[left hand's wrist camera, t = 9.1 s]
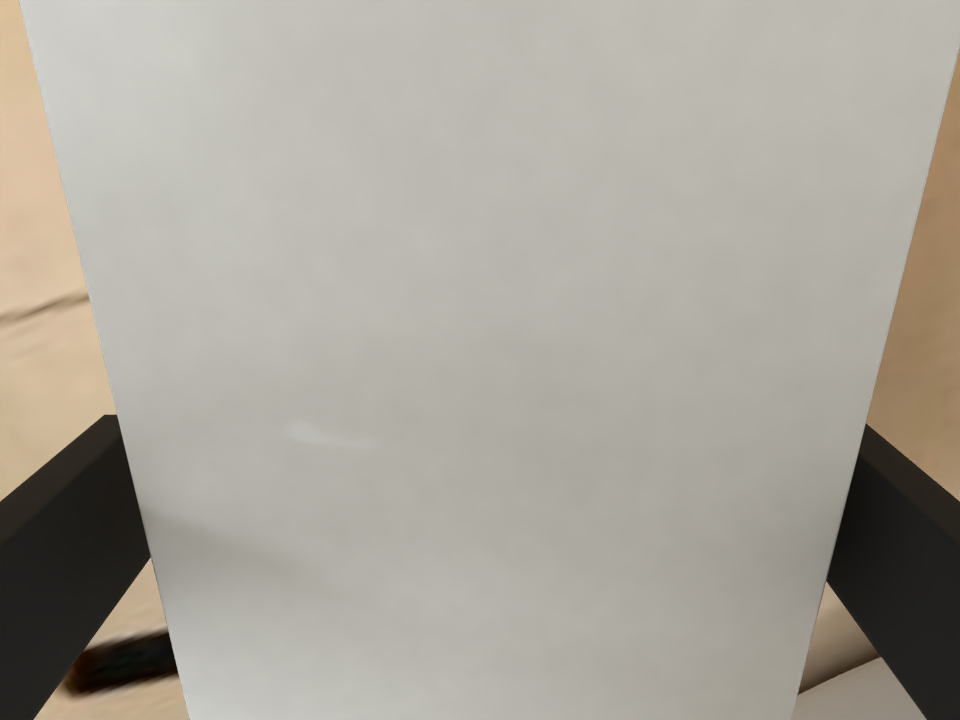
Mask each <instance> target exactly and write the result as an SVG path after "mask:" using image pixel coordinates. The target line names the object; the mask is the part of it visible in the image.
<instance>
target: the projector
mask: <svg viewBox="0 0 960 720" xmlns="http://www.w3.org/2000/svg"><path fill="white" fill-rule="evenodd" d="M791 720H927V719H926V718H925V717H924V715H923V714H922V713H921V711H920V710H919V708H918V707H917V706H916V704H915V703H914V701H913V700H912V699H911V697H910V696H909V695H908V693H907V692H906V690H905V689H904V688H903V686H902V685H901V683H900V682H899V681H898V679H897V678H896V677H895V675H894V674H893V672H892V671H891V670H890V668H889V667H888V665H887V664H886V663H885V661H884V660H883V659H882V657H879V658H877V659H875V660H872V661H870V662H868V663H865V664H863V665H861V666H858V667H856V668H854V669H852V670H849V671H847V672H845V673H843V674H840V675H838V676H836V677H834V678H832V679H830V680H828V681H825V682H823V683H821V684H819V685H817V686H815V687H813V688H811V689H809V690H807V691H805V692H803V693H801V694H799V695H797V699H796V703H795V707H794V711H793V715H792V719H791Z"/></svg>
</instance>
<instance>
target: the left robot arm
mask: <svg viewBox="0 0 960 720" xmlns="http://www.w3.org/2000/svg"><path fill="white" fill-rule="evenodd" d="M150 558H151V555H150V551H149V547H148V542H147V538H146V534H145V530H144V525H143V521H142V517H141V513H140V509H139V504H138V500H137V496H136V492H135V488H134V483H133V479H132V475H131V471H130V467H129V462H128V458H127V454H126V450H125V446H124V441H123V437H122V433H121V429H120V425H119V420H118V416H117V415H104V416H102V417H101V418H100V419H99V420H98V421H96V422H95V423H94V424H93V425H92V426H90V427H89V428H88V429H87V430H86V431H84V432H83V433H82V434H81V435H80V436H78V437H77V438H76V439H75V440H74V441H72V442H71V443H70V444H69V445H68V446H66V447H65V448H64V449H63V450H62V451H60V452H59V453H58V454H57V455H56V456H54V457H53V458H52V459H51V460H50V461H49V462H47V463H46V464H45V465H44V466H43V467H41V468H40V469H39V470H38V471H37V472H35V473H34V474H33V475H32V476H31V477H29V478H28V479H27V480H26V481H25V482H23V483H22V484H21V485H20V486H19V487H17V488H16V489H15V490H14V491H13V492H11V493H10V494H9V495H8V496H7V497H5V498H4V499H3V500H2V501H1V502H0V720H33V719H34V718H35V717H36V715H37V714H38V713H39V711H40V710H41V708H42V707H43V706H44V704H45V703H46V701H47V700H48V699H49V697H50V696H51V695H52V693H53V692H54V690H55V689H56V688H57V686H58V685H59V683H60V682H61V681H62V679H63V678H64V677H65V675H66V674H67V672H68V671H69V670H70V668H71V667H72V665H73V664H74V663H75V661H76V660H77V659H78V657H79V656H80V654H81V653H82V652H83V650H84V649H85V647H86V646H87V645H88V643H89V642H90V641H91V639H92V638H93V636H94V635H95V634H96V632H97V631H98V629H99V628H100V627H101V625H102V624H103V623H104V621H105V620H106V618H107V617H108V616H109V614H110V613H111V612H112V610H113V609H114V607H115V606H116V605H117V603H118V602H119V600H120V599H121V598H122V596H123V595H124V594H125V592H126V591H127V589H128V588H129V587H130V585H131V584H132V582H133V581H134V580H135V578H136V577H137V576H138V574H139V573H140V571H141V570H142V569H143V567H144V566H145V564H146V563H147V562H148V560H149V559H150ZM826 581H827V582H828V584H829V585H830V587H831V588H832V589H833V591H834V592H835V594H836V595H837V596H838V598H839V599H840V600H841V602H842V603H843V605H844V606H845V607H846V609H847V610H848V612H849V613H850V614H851V616H852V617H853V618H854V620H855V621H856V623H857V624H858V625H859V627H860V628H861V630H862V631H863V632H864V634H865V635H866V636H867V638H868V639H869V641H870V642H871V643H872V645H873V646H874V647H875V649H876V650H877V652H878V653H879V654H880V656H881V657H882V659H883V660H884V661H885V663H886V664H887V665H888V667H889V668H890V670H891V671H892V672H893V674H894V675H895V677H896V678H897V679H898V681H899V682H900V683H901V685H902V686H903V688H904V689H905V690H906V692H907V693H908V695H909V696H910V697H911V699H912V700H913V701H914V703H915V704H916V706H917V707H918V708H919V710H920V711H921V713H922V714H923V715H924V717H925V718H926V719H927V720H960V502H959V501H958V500H957V499H956V498H955V497H953V496H952V495H951V494H950V493H949V492H947V491H946V490H945V489H944V488H943V487H941V486H940V485H939V484H938V483H937V482H935V481H934V480H933V479H932V478H931V477H929V476H928V475H927V474H926V473H925V472H923V471H922V470H921V469H920V468H919V467H917V466H916V465H915V464H914V463H913V462H911V461H910V460H909V459H908V458H907V457H905V456H904V455H903V454H902V453H901V452H900V451H898V450H897V449H896V448H895V447H894V446H892V445H891V444H890V443H889V442H888V441H886V440H885V439H884V438H883V437H882V436H880V435H879V434H878V433H877V432H876V431H874V430H873V429H872V428H871V427H870V426H868V425H867V424H865V428H864V432H863V436H862V440H861V444H860V448H859V452H858V456H857V460H856V464H855V468H854V472H853V476H852V480H851V484H850V488H849V492H848V496H847V500H846V504H845V508H844V512H843V516H842V520H841V524H840V528H839V532H838V535H837V539H836V543H835V547H834V551H833V555H832V559H831V563H830V567H829V571H828V575H827V579H826Z"/></svg>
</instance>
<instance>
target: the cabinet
mask: <svg viewBox="0 0 960 720" xmlns="http://www.w3.org/2000/svg"><path fill="white" fill-rule="evenodd" d="M19 4H20V8H21V13H22V17H23V21H24V25H25V29H26V34H27V38H28V42H29V46H30V50H31V55H32V59H33V63H34V67H35V71H36V76H37V80H38V84H39V88H40V92H41V97H42V101H43V105H44V109H45V113H46V118H47V122H48V126H49V130H50V135H51V139H52V143H53V147H54V151H55V156H56V160H57V164H58V168H59V172H60V177H61V181H62V185H63V189H64V193H65V198H66V202H67V206H68V210H69V214H70V219H71V223H72V227H73V231H74V235H75V240H76V244H77V248H78V252H79V256H80V261H81V265H82V269H83V273H84V277H85V282H86V286H87V290H88V294H89V298H90V303H91V307H92V311H93V315H94V319H95V324H96V328H97V332H98V336H99V341H100V345H101V349H102V353H103V357H104V362H105V366H106V370H107V374H108V378H109V383H110V387H111V391H112V395H113V399H114V404H115V408H116V412H117V416H118V420H119V425H120V429H121V433H122V437H123V441H124V446H125V450H126V454H127V458H128V462H129V467H130V471H131V475H132V479H133V483H134V488H135V492H136V496H137V500H138V504H139V509H140V513H141V517H142V521H143V525H144V530H145V534H146V538H147V542H148V547H149V551H150V555H151V559H152V563H153V568H154V572H155V576H156V580H157V584H158V589H159V593H160V597H161V601H162V605H163V610H164V614H165V618H166V622H167V626H168V631H169V635H170V639H171V643H172V647H173V652H174V656H175V660H176V664H177V668H178V673H179V677H180V681H181V685H182V689H183V694H184V698H185V702H186V706H187V710H188V715H189V719H190V720H791V719H792V715H793V711H794V707H795V703H796V699H797V695H798V691H799V687H800V683H801V679H802V675H803V671H804V667H805V663H806V659H807V655H808V651H809V647H810V643H811V639H812V635H813V631H814V627H815V623H816V619H817V615H818V611H819V607H820V603H821V599H822V595H823V591H824V587H825V583H826V579H827V575H828V571H829V567H830V563H831V559H832V555H833V551H834V547H835V543H836V539H837V535H838V532H839V528H840V524H841V520H842V516H843V512H844V508H845V504H846V500H847V496H848V492H849V488H850V484H851V480H852V476H853V472H854V468H855V464H856V460H857V456H858V452H859V448H860V444H861V440H862V436H863V432H864V428H865V424H866V420H867V416H868V412H869V408H870V404H871V400H872V396H873V392H874V388H875V384H876V380H877V376H878V372H879V368H880V364H881V360H882V356H883V352H884V348H885V344H886V340H887V336H888V332H889V328H890V324H891V321H892V317H893V313H894V309H895V305H896V301H897V297H898V293H899V289H900V285H901V281H902V277H903V273H904V269H905V265H906V261H907V257H908V253H909V249H910V245H911V241H912V237H913V233H914V229H915V225H916V221H917V217H918V213H919V209H920V205H921V201H922V197H923V193H924V189H925V185H926V181H927V177H928V173H929V169H930V165H931V161H932V157H933V153H934V149H935V145H936V141H937V137H938V133H939V129H940V125H941V121H942V117H943V114H944V110H945V106H946V102H947V98H948V94H949V90H950V86H951V82H952V78H953V74H954V70H955V66H956V62H957V58H958V54H959V50H960V0H19Z"/></svg>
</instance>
